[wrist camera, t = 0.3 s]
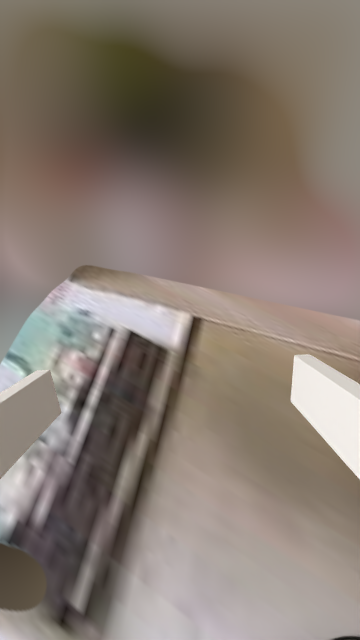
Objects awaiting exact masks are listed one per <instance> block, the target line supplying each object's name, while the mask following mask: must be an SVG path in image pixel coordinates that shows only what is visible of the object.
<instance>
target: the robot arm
mask: <svg viewBox="0 0 360 640" xmlns="http://www.w3.org/2000/svg"><path fill="white" fill-rule="evenodd" d="M291 402H292V403H293V404H294V406H295V407H296V408H297V409H298V410H299V411H300V412H301V413H302V415H303V416H304V417H305V418H306V419H307V420H308V421H309V423H310V424H311V425H312V426H313V427H314V428H315V429H316V430H317V432H318V433H319V434H320V435H321V436H322V437H323V438H324V440H325V441H326V442H327V443H328V444H329V445H330V446H331V447H332V449H333V450H334V451H335V452H336V453H337V454H338V455H339V457H340V458H341V459H342V460H343V461H344V462H345V463H346V464H347V466H348V467H349V468H350V469H351V470H352V471H353V472H354V474H355V475H356V476H357V477H358V478H359V479H360V384H359V383H357V382H355V381H354V380H352V379H350V378H348V377H347V376H345V375H343V374H342V373H340V372H338V371H337V370H335V369H333V368H332V367H330V366H328V365H326V364H325V363H323V362H321V361H320V360H318V359H316V358H315V357H313V356H311V355H310V354H307V355H294V365H293V378H292V390H291ZM60 414H61V409H60V405H59V402H58V398H57V394H56V391H55V387H54V383H53V379H52V376H51V372H50V370H40V371H35V372H34V373H32V374H30V375H29V376H27V377H25V378H24V379H22V380H21V381H19V382H17V383H16V384H14V385H12V386H11V387H9V388H8V389H6V390H4V391H3V392H1V393H0V479H1V478H2V477H3V475H4V474H5V473H6V472H7V471H8V470H9V469H10V468H11V467H12V466H13V465H14V464H15V462H16V461H17V460H18V459H19V458H20V457H21V456H22V455H23V454H24V453H25V452H26V451H27V449H28V448H29V447H30V446H31V445H32V444H33V443H34V442H35V441H36V440H37V439H38V438H39V436H40V435H41V434H42V433H43V432H44V431H45V430H46V429H47V428H48V427H49V426H50V425H51V423H52V422H53V421H54V420H55V419H56V418H57V417H58V416H59V415H60ZM346 640H355V639H346Z"/></svg>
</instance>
